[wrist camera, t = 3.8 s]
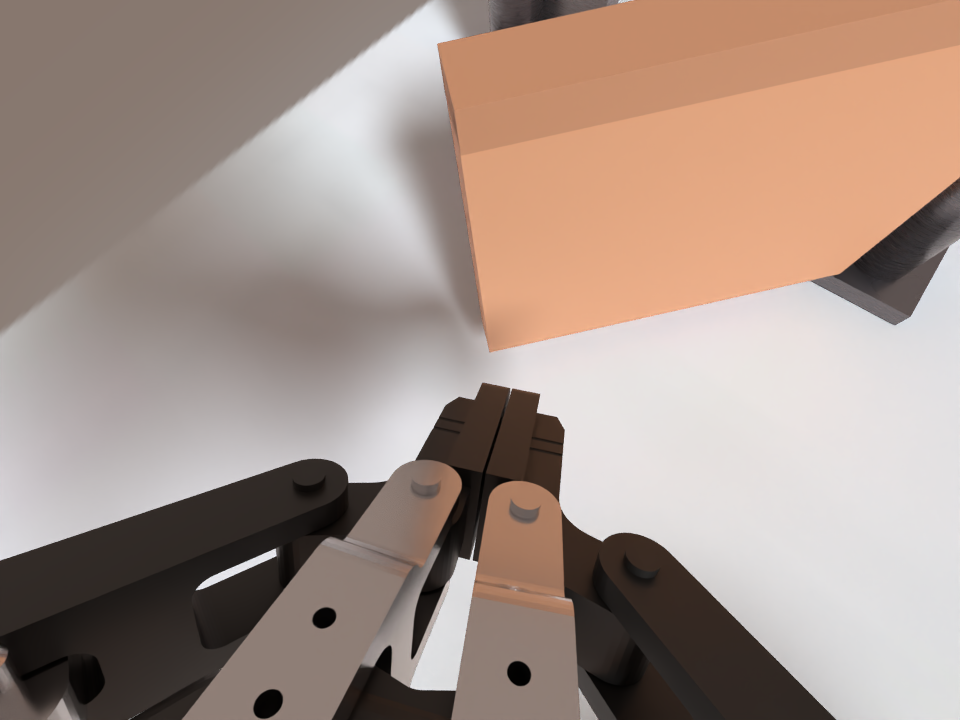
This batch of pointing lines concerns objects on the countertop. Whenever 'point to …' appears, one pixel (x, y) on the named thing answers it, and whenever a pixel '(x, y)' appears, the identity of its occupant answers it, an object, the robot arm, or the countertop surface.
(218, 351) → the countertop surface
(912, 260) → the hinge post
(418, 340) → the countertop surface
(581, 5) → the post
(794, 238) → the gate
